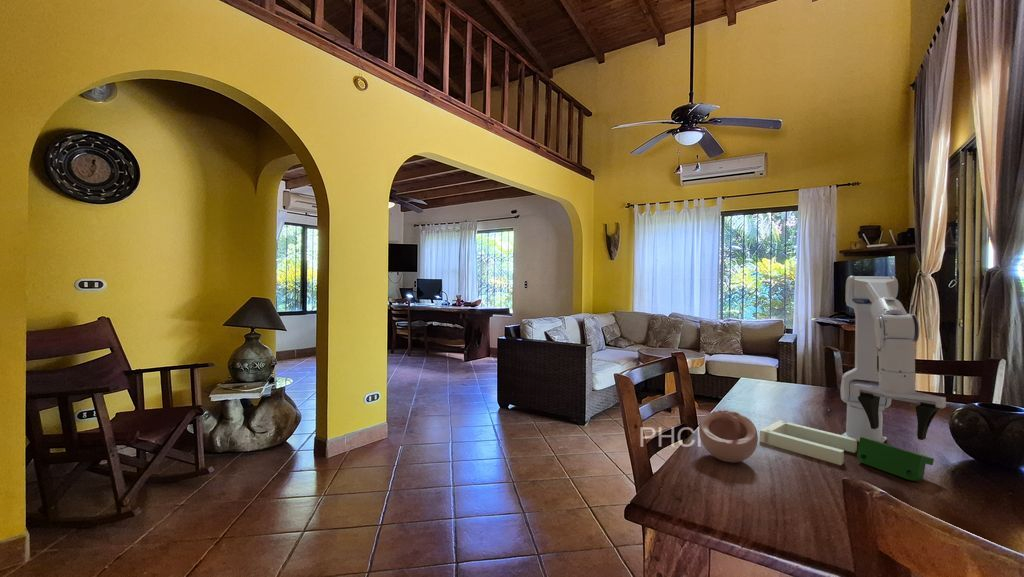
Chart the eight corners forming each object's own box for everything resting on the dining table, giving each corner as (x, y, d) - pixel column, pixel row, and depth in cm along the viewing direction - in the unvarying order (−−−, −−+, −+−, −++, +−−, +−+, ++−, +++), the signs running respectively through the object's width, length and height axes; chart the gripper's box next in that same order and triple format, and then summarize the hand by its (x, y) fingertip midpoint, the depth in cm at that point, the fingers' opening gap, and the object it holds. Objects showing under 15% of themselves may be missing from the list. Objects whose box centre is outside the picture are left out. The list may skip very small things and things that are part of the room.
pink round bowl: (693, 461, 94) (695, 411, 94) (703, 445, 104) (704, 400, 103) (754, 477, 87) (756, 423, 87) (758, 458, 97) (760, 409, 97)
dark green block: (917, 497, 89) (946, 465, 87) (901, 494, 87) (930, 462, 84) (863, 455, 100) (887, 426, 97) (847, 451, 98) (872, 422, 95)
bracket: (779, 430, 116) (779, 420, 116) (856, 450, 103) (857, 439, 103) (759, 441, 107) (759, 430, 107) (841, 465, 94) (841, 452, 94)
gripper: (847, 366, 93) (848, 426, 93) (937, 378, 80) (937, 448, 80) (861, 363, 97) (861, 421, 97) (948, 374, 84) (949, 440, 84)
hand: (897, 433), depth 89 cm, fingers open, 7 cm apart
